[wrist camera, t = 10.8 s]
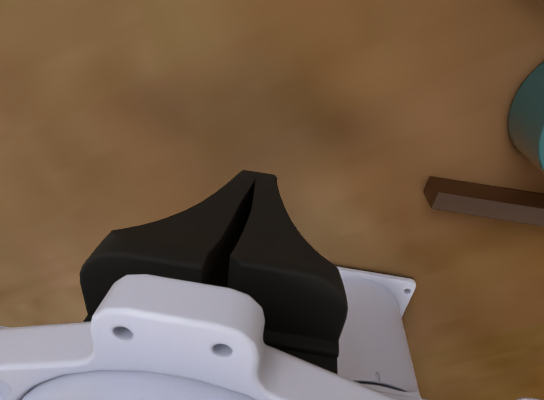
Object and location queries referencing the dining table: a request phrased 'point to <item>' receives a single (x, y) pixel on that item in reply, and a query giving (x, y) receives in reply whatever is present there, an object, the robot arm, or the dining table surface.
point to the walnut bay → (485, 201)
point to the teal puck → (529, 118)
